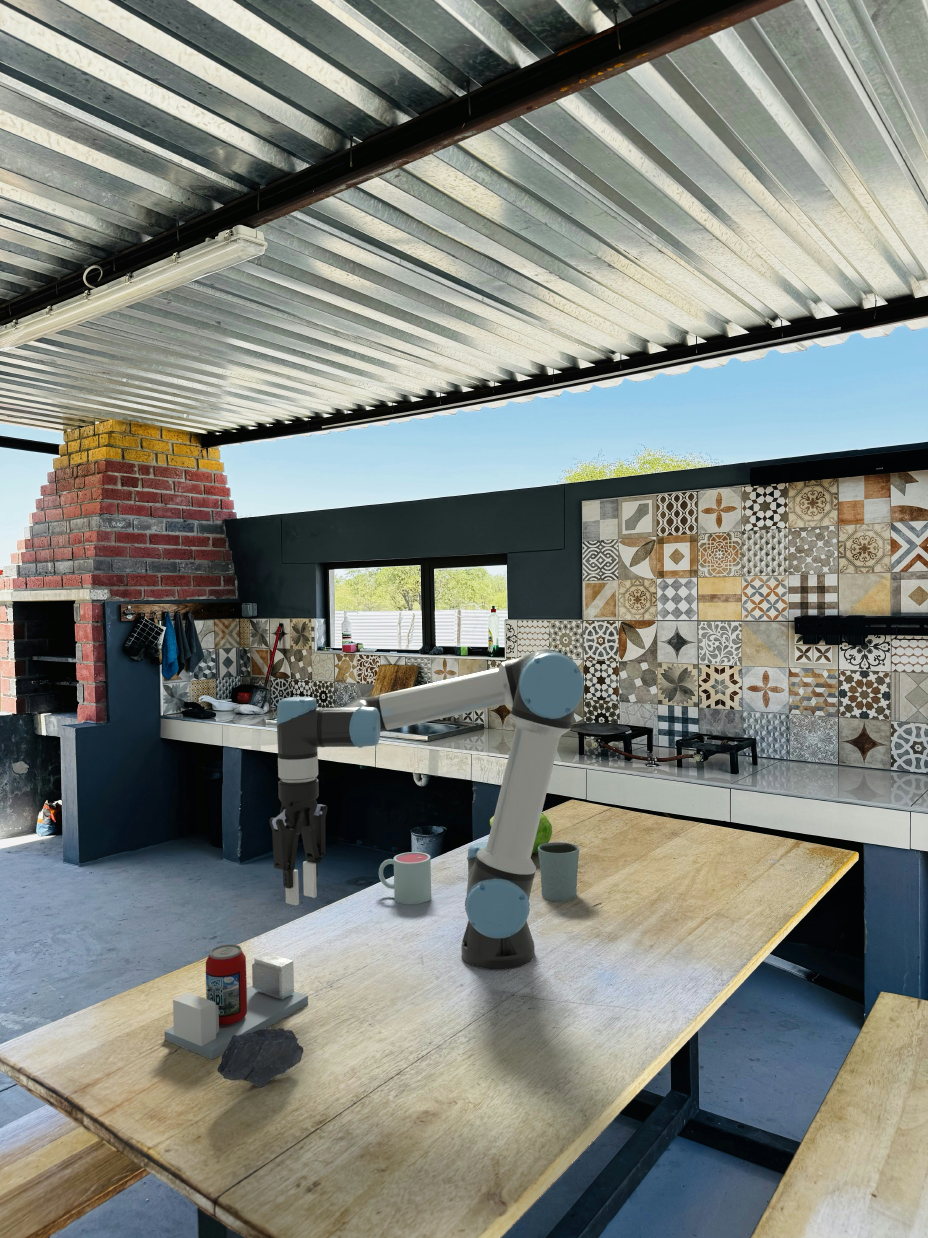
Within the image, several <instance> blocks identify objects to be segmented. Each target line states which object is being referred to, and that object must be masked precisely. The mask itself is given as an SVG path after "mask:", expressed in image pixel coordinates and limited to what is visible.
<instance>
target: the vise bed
mask: <svg viewBox="0 0 928 1238" xmlns="http://www.w3.org/2000/svg"><path fill="white" fill-rule="evenodd" d="M307 1005H309V995H307V994H304V993H300V992H297V991H296V990H294V993H293V994H292V995H290V996H288V997H286V998H284V999H283V1000H282V999H279V998H276V997H273V996H270V995H267V994H264V993H261V992H258V991H255V988H253V985H251V986H249V987H248V988H247V1014H246V1016H245V1017H244V1018H242V1019H241V1020H240V1021H239V1022H237V1023H235V1024H233V1025H229V1026H219V1011H218V1005H215V1002H213V1001H210V1000H208V999H206V998H204V997H202V996H199V995H196V994H193V993H190V992H186V993H184V994H181V995H179V996H177V997H175V998H173V999H172V1011H173V1012H172V1013H173V1015H172V1016H173V1017H172V1018H173V1026H172V1027H170V1028H168V1029H166V1030H164V1033H163V1034H164V1041H165V1042H166V1041H167V1042H169V1043H171V1044H174V1045H176V1046H179V1047H180V1048H183V1049H186V1050H187V1051H190V1052H193V1053H195V1054H198V1055H200V1056H203V1057H205V1058H207V1059H209V1060H215V1059H216V1058H217V1057H219V1056H221V1055H223V1053H224V1052H225V1050H226V1048H227V1046H228V1044H229V1042H230V1040H231V1038H232V1036H233V1035H244V1034H247V1033H250V1032H254V1031H257V1030H261V1029H269V1028H270V1027H271V1026H272V1025H274V1024H276V1023H277V1022H279V1021H281V1020H283V1019H284V1018H286V1017H288V1016H290V1015H292V1014H293V1013H295V1012H297V1011H299V1010H300V1009H302V1008H304V1007H305V1006H307Z"/></svg>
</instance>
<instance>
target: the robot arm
mask: <svg viewBox="0 0 928 1238" xmlns="http://www.w3.org/2000/svg"><path fill="white" fill-rule="evenodd" d="M584 683H585V682H584V678H583V673H582V671H581V670H580V667H579V665H578V664H577V663H576V661H574V659H572V658H571V657H570V656H568V655H566V654H564V653H562V652H560V651H558V650H554V649H547V648H544V649H539V650H536V651H534V652H530V653H529V654H525V655H523V656H520V657H517V658H514V659H510V660H509V659H508V660H506V661H502V662H501V663H500V664H499V666H498V667H497V668H492V669H488V670H484V671H479V672H475V673H474V672H473V673H470V674H466V675H462V676H457V677H453V678H452V677H451V678H448V679H444V680H438V681H435V682H430V683H426V684H422V685H417V686H412V687H408V688H404V689H399V690H395V691H390V692H386V693H382V694H378V695H373V696H368V697H358V698H353V699H351V700H350V701H348V702H347V703H346V704H345V705H344V706H343V707H319V706H318V703H317V699H316V698H314V697H310V696H308V697H307V696H294V697H293V696H292V697H286V698H282V699H281V700H279V701H278V702H277V711H276V713H277V714H276V722H275V725H276V735H277V736H276V737H277V767H278V768H277V770H278V771H277V772H278V775H277V777H278V778H279V779H280V780H279V781H278V783H277V784H278V786H277V787H278V799H279V800H280V802H281V807H280V810H279V811H280V812H279V813H280V814H278V815H277V816H276V817H271V818H270V819H269V821H268V822H269V825H270V828H271V832H272V833H271V834H272V835H271V836H272V854H273V868H274V869H275V870H278V871H279V870H280V871H282V878H283V879H282V881H283V883H282V884H283V885H282V886H283V888H284V889H285V903H286V904H288V905H292V906H298V905H300V898H299V897H300V893H299V891H300V890H299V870H298V869H296V860H297V851H298V844H299V837H300V834H301V838H302V844H303V849H304V856H305V859H306V860H305V861H303V862H302V875H303V877H302V878H303V879H302V880H303V883H302V884H303V896H304V897H309V898H314V899H315V898H317V897H318V896H317V894H318V893H317V878H318V875H319V873H318V871H319V870H318V864H319V863H322V861H323V858H322V857H325V855H326V849H327V848H326V816H327V813H328V806H327V805H325V804H321V803H320V804H318V802H317V799H318V797H319V796H320V795H319V794H320V793H319V792H320V791H319V788H320V787H319V779H318V775H319V758H318V757H319V756H318V755H319V754H318V749H319V748H358V749H359V748H360V749H361V748H364V747H374V746H377V745H378V744H379V742H380V736H381V733H382V732H386V731H389V730H394V729H398V728H405V727H409V726H412V725H417V724H422V723H423V724H424V723H427V722H431V721H435V720H440V719H444V718H450V717H453V716H458V715H463V714H467V713H472V712H477V711H480V710H486V709H490V708H495V707H499V706H504V705H507V706H509V707H511V713H510V716H511V718H512V720H513V721H514V723H515V728H514V733H513V737H512V741H511V745H510V750H509V754H508V757H507V762H506V766H505V768H504V769H505V770H504V774H503V778H502V781H501V785H500V790H499V795H498V799H497V801H496V807H495V812H494V815H493V816H494V818H493V823H492V827H491V826H490V827H491V828H490V832H489V836H488V839H487V841H485V842H483V841H482V842H476V843H474V844H472V845H470V846H469V847H468V849H467V856H466V861H467V871H468V872H467V884H466V886H467V888H466V897H465V899H464V900H465V902H464V907H465V908H464V909H465V912H466V916H467V919H468V921H467V924H466V927H465V931H464V934H463V937H462V940H461V944H460V945H461V950H460V951H461V958H462V959H463V961H465V963H467V964H469V965H470V966H473V967H475V968H479V969H483V970H491V971H492V970H493V971H498V970H500V971H501V970H502V971H503V970H512V969H516V968H517V969H518V968H520V967H523V966H525V965H527V964H529V963H531V962H532V961H533V959H534V958H535V952H536V951H535V942H534V939H533V935H532V933H531V930H530V927H529V923H528V921H527V920H528V917H529V915H530V910H531V909H530V905H531V904H530V897H531V896H530V895H531V893H532V892H531V890H532V888H533V884H534V880H535V876H536V871H537V866H536V865H535V863H534V861H533V860H532V858H531V857H532V854H533V853H532V850H533V846H534V842H535V838H536V834H537V830H538V825H539V821H540V817H541V813H543V808H544V804H545V801H546V795H547V793H548V789H549V788H548V787H549V784H550V781H551V775H552V772H553V768H554V764H555V760H556V756H557V751H558V748H559V743H560V738H561V737H562V736H563V735H564V734H565V733H567V732H569V731H571V728H572V724H573V720H574V716H575V713H576V708H577V707H578V705H579V704H580V702H581V700H582V698H583V694H584V688H585V684H584Z"/></svg>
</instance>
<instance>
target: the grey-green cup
mask: <svg viewBox="0 0 928 1238" xmlns="http://www.w3.org/2000/svg"><path fill="white" fill-rule="evenodd" d="M537 853H538V859H539V870H540V884H541V885H540V886H541V896H542V898H543V899H545V900H547V901H551V902H557V903H558V902H559V903H560V902H563V903H564V902H570V901H572V900H574V899H575V898H576V897H577V895H578V894H577V892H578V889H577V886H578V872H579V871H578V869H579V859H580V858H579V855H580V847H579V846H578V845H576V844H575V843H570V842H564V841H563V842H560V841H557V842H556V841H555V842H548V843H545V844H542V845H540V846H539V847H538V851H537Z"/></svg>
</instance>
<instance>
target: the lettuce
mask: <svg viewBox="0 0 928 1238" xmlns="http://www.w3.org/2000/svg"><path fill="white" fill-rule="evenodd" d="M493 818H494V815H493V816H492V817H491V818H490V819H489V825H490V827H492V823H493ZM552 834H553V825H552V824H551V822H550V820H549V819H548V817H547V816H546V815H545V814H544V813H543V812H542V813H541V817H540V821H539V825H538V830H537V834H536V838H535V842H534V846H533V850H532V854H534V853H536V852H537V853H538V847H539V846H540V845H542V844H545V843H550V840H551V838H552Z"/></svg>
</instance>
